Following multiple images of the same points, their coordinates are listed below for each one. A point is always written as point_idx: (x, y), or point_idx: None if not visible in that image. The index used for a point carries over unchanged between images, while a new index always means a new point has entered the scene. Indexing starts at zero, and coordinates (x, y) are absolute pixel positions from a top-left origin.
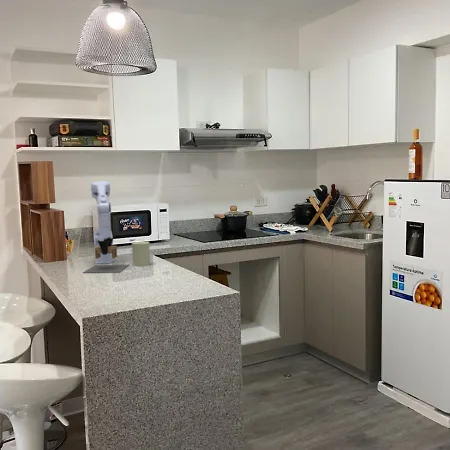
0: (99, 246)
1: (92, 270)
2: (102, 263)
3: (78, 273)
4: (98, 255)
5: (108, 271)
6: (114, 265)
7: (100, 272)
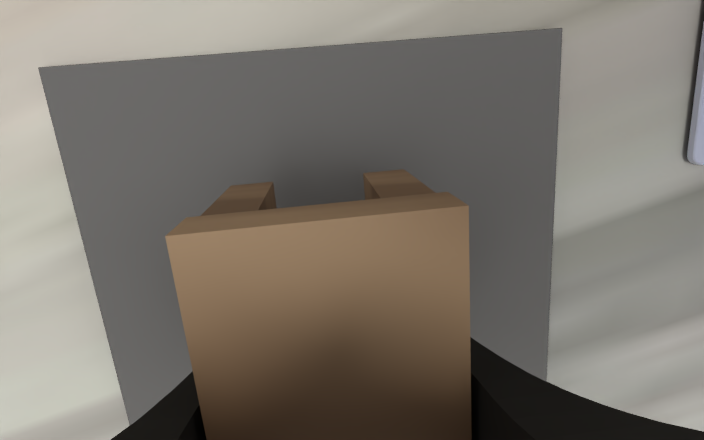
0: (406, 290)
1: (182, 144)
2: (697, 71)
3: (22, 7)
4: (369, 196)
5: (139, 353)
6: (508, 283)
7: (95, 280)
